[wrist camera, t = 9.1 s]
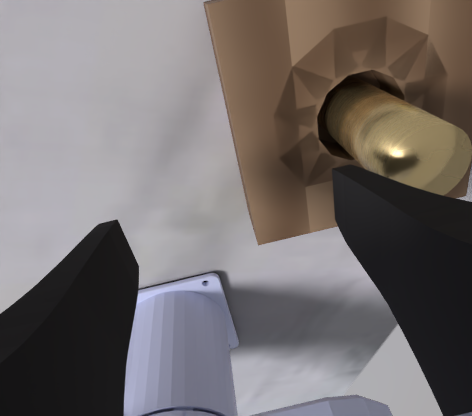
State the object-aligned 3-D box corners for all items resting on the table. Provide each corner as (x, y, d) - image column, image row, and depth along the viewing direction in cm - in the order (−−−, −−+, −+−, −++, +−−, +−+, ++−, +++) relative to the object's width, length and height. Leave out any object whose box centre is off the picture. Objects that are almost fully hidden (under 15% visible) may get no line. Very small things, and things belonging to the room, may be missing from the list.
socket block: (248, 212, 23) (258, 245, 20) (203, 2, 17) (207, 4, 14) (429, 169, 23) (465, 195, 20) (452, -57, 17) (510, -68, 14)
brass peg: (316, 138, 20) (386, 213, 13) (311, 83, 18) (387, 137, 12) (369, 124, 20) (466, 192, 13) (368, 68, 18) (477, 113, 11)
